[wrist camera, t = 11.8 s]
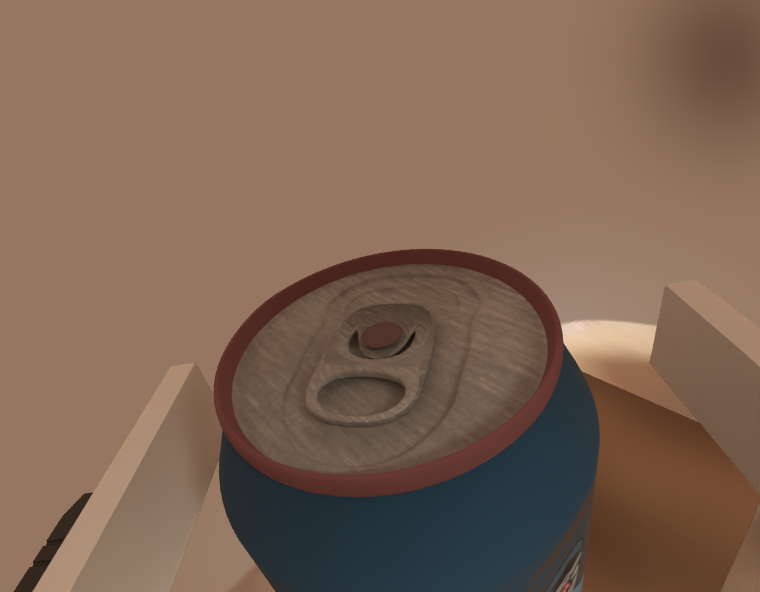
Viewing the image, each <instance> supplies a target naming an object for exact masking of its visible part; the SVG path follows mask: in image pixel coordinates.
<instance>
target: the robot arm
mask: <svg viewBox="0 0 760 592" xmlns="http://www.w3.org/2000/svg"><path fill="white" fill-rule="evenodd" d="M650 364H651V365H652V366H653V367H654V369H655V370H656V371H657V372H658V373H659V375H660V376H661V377H662V378H663V379H664V381H665V382H666V383H667V384H668V385H669V387H670V388H671V389H672V390H673V391H674V393H675V394H676V395H677V396H678V397H679V399H680V400H681V401H682V402H683V403H684V405H685V406H686V407H687V408H688V409H689V410H690V412H691V413H692V414H693V415H694V416H695V418H696V419H697V420H698V421H699V422H700V424H701V425H702V426H703V427H704V428H705V430H706V431H707V432H708V433H709V434H710V436H711V437H712V438H713V439H714V440H715V442H716V443H717V444H718V445H719V446H720V448H721V449H722V450H723V451H724V452H725V454H726V455H727V456H728V457H729V458H730V460H731V461H732V462H733V463H734V464H735V466H736V467H737V468H738V469H739V470H740V472H741V473H742V474H743V475H744V476H745V478H746V479H747V480H748V481H749V482H750V484H751V485H752V486H753V487H754V488H755V490H756V491H757V492H758V493H759V494H760V328H758V327H757V326H755V324H753V323H752V322H751V321H749V320H748V319H747V318H745V317H744V316H743V315H741V314H740V313H739V312H737V311H736V310H735V309H734V308H732V307H731V306H730V305H728V304H727V303H726V302H724V301H723V300H722V299H721V298H719V297H718V296H717V295H715V294H714V293H713V292H711V291H710V290H709V289H707V288H706V287H705V286H704V285H702V284H701V283H700V282H698V281H697V280H690V281H684V282H678V283H673V284H666V285H665V288H664V293H663V299H662V303H661V308H660V314H659V319H658V324H657V329H656V334H655V339H654V344H653V349H652V354H651V359H650ZM222 430H223V429H222V427H221V425H220V422H219V420H218V417H217V414H216V409H215V405H214V394H213V393H212V391H211V389H210V387H209V385H208V384H207V382H206V380H205V378H204V377H203V375H202V373H201V371H200V370H199V368H198V366H197V365H196V363H195V362H194V363H188V364H182V365H176V366H171V367H170V368H169V370H168V372H167V373H166V375H165V376H164V378H163V380H162V381H161V383H160V385H159V386H158V388H157V389H156V391H155V393H154V394H153V396H152V398H151V399H150V401H149V403H148V404H147V406H146V407H145V409H144V411H143V412H142V414H141V416H140V417H139V419H138V421H137V422H136V424H135V425H134V427H133V429H132V430H131V432H130V434H129V435H128V437H127V439H126V440H125V442H124V443H123V445H122V447H121V448H120V450H119V451H118V453H117V455H116V456H115V458H114V460H113V461H112V463H111V465H110V466H109V468H108V470H107V471H106V473H105V474H104V476H103V478H102V479H101V481H100V483H99V484H98V486H97V488H96V489H95V491H94V492H93V493H86V494H84V495H83V496H82V497H81V498H80V499H79V500H78V501H77V502H76V503H75V504H74V505H73V506H72V507H71V508H70V509H69V510H68V511H67V512H66V513H65V514H64V515H63V516H62V518H61V519H60V521H59V522H58V524H57V526H56V527H55V529H54V531H53V532H52V533H51V535H50V536H49V538H48V539H47V544H46V546H43V547H42V549H41V550H40V552H39V553H38V555H37V557H36V558H35V560H34V561H33V566H32V567H30V568H29V569H28V571H27V572H26V573H25V575H24V577H23V578H22V580H21V581H20V583H19V584H18V586H17V588H16V589H15V591H14V592H170V591H171V588H172V586H173V582H174V580H175V577H176V575H177V572H178V569H179V566H180V564H181V561H182V558H183V556H184V553H185V550H186V547H187V545H188V542H189V539H190V536H191V534H192V531H193V528H194V525H195V523H196V520H197V517H198V515H199V512H200V509H201V506H202V504H203V501H204V498H205V495H206V493H207V490H208V487H209V484H210V482H211V479H212V476H213V473H214V470H215V468H216V465H217V463H218V460H219V457H220V448H221V438H222Z"/></svg>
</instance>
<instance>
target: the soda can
mask: <svg viewBox="0 0 760 592" xmlns="http://www.w3.org/2000/svg"><path fill="white" fill-rule="evenodd" d="M214 405H215V409H216V414H217V417H218V420H219V422H220V425H221V427H222V429H223V430H222V438H221V448H220V458H219V479H220V490H221V495H222V500H223V504H224V507H225V511H226V514H227V517H228V519H229V521H230V524H231V526H232V528H233V530H234V532H235V534H236V535H237V537H238V539H239V541H240V542H241V543H242V545H243V546H244V548H245V549H246V550H247V552H248V553H249V555H250V556H251V557H252V559H253V560H254V562H255V563H256V564H257V566H258V567H259V569H260V570H261V572H262V573H263V574H264V576H265V577H266V579H267V580H268V581H269V583H270V584H271V586H272V587H273V588H274V590H275V591H276V592H582V585H583V577H584V569H585V561H586V553H587V545H588V537H589V529H590V521H591V513H592V505H593V497H594V489H595V481H596V473H597V465H598V457H599V446H600V427H599V419H598V413H597V409H596V405H595V401H594V398H593V395H592V392H591V390H590V387H589V385H588V383H587V381H586V379H585V377H584V375H583V373H582V371H581V370H580V368H579V366H578V365H577V363H576V361H575V360H574V358H573V357H572V355H571V354H570V352H569V351H568V349H567V348H566V346H565V345H564V343H563V334H562V329H561V324H560V321H559V317H558V315H557V312H556V310H555V308H554V306H553V304H552V303H551V301H550V300H549V298H548V297H547V295H546V294H545V293H544V292H543V291H542V289H540V287H538V285H536V284H535V283H534V282H533V281H532V280H531V279H529V278H528V277H527V276H525V275H524V274H522V273H521V272H519V271H517V270H516V269H514V268H512V267H509V266H508V265H506V264H503V263H501V262H498V261H496V260H493V259H490V258H487V257H484V256H480V255H476V254H472V253H466V252H460V251H453V250H442V249H410V250H400V251H391V252H384V253H378V254H373V255H369V256H364V257H360V258H357V259H353V260H349V261H346V262H343V263H340V264H337V265H334V266H332V267H329V268H327V269H324V270H321V271H319V272H317V273H314V274H312V275H310V276H308V277H306V278H304V279H302V280H300V281H298V282H296V283H294V284H292V285H290V286H288V287H287V288H285V289H283V290H282V291H280V292H279V293H277V294H275V295H274V296H272V297H271V298H270V299H268V300H267V301H266V302H264V303H263V304H262V305H261V306H260V307H259V308H258V309H256V310H255V311H254V312H253V313H252V314H251V316H249V318H248V319H247V320H246V321H245V322H244V323H243V324H242V326H241V327H240V328H239V329H238V331H237V332H236V333H235V335H234V336H233V338H232V339H231V341H230V342H229V344H228V345H227V347H226V349H225V351H224V353H223V355H222V357H221V360H220V362H219V365H218V368H217V371H216V375H215V382H214Z"/></svg>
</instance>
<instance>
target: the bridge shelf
mask: <svg viewBox="0 0 760 592" xmlns="http://www.w3.org/2000/svg"><path fill="white" fill-rule="evenodd" d="M582 373H583V375H584V377H585V379H586V381H587V383H588V385H589V387H590V390H591V392H592V395H593V398H594V401H595V405H596V409H597V413H598V419H599V427H600V446H599V457H598V465H597V473H596V481H595V489H594V497H593V505H592V513H591V521H590V529H589V537H588V545H587V553H586V561H585V569H584V577H583V585H582V592H720V591H721V589H722V586H723V584H724V582H725V580H726V577H727V575H728V573H729V571H730V568H731V566H732V564H733V562H734V559H735V557H736V555H737V553H738V550H739V548H740V546H741V544H742V541H743V539H744V537H745V535H746V532H747V530H748V528H749V525H750V523H751V521H752V519H753V516H754V514H755V512H756V510H757V507H758V505H759V503H760V494H759V493H758V492H757V491H756V490H755V488H754V487H753V486H752V485H751V484H750V482H749V481H748V480H747V479H746V478H745V476H744V475H743V474H742V473H741V472H740V470H739V469H738V468H737V467H736V466H735V464H734V463H733V462H732V461H731V460H730V458H729V457H728V456H727V455H726V454H725V452H724V451H723V450H722V449H721V448H720V446H719V445H718V444H717V443H716V442H715V440H714V439H713V438H712V437H711V436H710V434H709V433H708V432H707V431H706V430H705V428H704V427H703V426H702V425H701V424H700V423H698V422H696V421H694V420H691V419H689V418H687V417H685V416H682V415H680V414H678V413H675V412H673V411H671V410H668V409H666V408H664V407H662V406H659V405H657V404H655V403H652V402H650V401H648V400H646V399H643V398H641V397H639V396H636V395H634V394H632V393H629V392H627V391H625V390H623V389H620V388H618V387H616V386H613V385H611V384H609V383H607V382H604V381H602V380H600V379H597V378H595V377H593V376H591V375H588V374H586V373H584V372H582Z"/></svg>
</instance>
